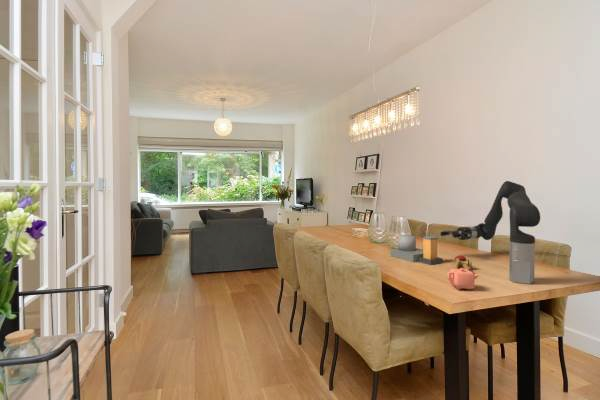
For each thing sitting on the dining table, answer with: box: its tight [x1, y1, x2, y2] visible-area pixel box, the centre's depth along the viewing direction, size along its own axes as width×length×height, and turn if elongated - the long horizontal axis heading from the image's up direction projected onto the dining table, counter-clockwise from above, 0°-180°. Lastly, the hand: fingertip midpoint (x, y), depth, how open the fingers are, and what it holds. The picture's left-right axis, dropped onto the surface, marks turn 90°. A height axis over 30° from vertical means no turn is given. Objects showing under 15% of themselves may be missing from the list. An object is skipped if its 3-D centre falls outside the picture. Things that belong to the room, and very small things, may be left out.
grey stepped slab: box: [390, 234, 444, 266], centre depth 192 cm, size 16×27×12 cm, turn 26°
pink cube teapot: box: [447, 267, 480, 291], centre depth 138 cm, size 8×12×8 cm, turn 85°
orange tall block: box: [422, 235, 439, 260], centre depth 184 cm, size 5×5×14 cm
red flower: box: [453, 255, 474, 273], centre depth 167 cm, size 8×6×18 cm
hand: (447, 234), depth 188 cm, fingers open, 8 cm apart
